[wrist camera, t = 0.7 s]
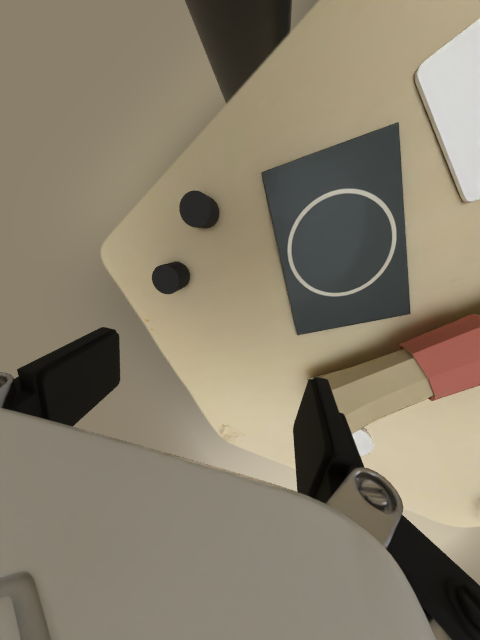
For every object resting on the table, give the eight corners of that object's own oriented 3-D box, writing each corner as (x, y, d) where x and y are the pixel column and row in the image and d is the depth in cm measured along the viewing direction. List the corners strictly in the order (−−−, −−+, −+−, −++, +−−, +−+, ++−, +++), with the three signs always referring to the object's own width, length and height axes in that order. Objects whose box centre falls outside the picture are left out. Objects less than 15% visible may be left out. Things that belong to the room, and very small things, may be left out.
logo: (371, 428, 38) (376, 462, 40) (369, 424, 38) (374, 458, 41) (330, 431, 39) (337, 464, 42) (329, 428, 40) (336, 460, 42)
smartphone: (499, 2, 21) (548, 160, 24) (492, 10, 21) (540, 162, 24) (413, 69, 23) (467, 205, 26) (409, 74, 24) (462, 206, 27)
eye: (161, 265, 35) (147, 269, 31) (184, 258, 34) (173, 261, 30) (170, 290, 36) (158, 297, 32) (193, 284, 35) (183, 290, 32)
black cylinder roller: (187, 201, 31) (174, 197, 28) (214, 191, 30) (205, 185, 27) (196, 231, 32) (185, 231, 29) (222, 223, 32) (215, 221, 28)
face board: (261, 174, 29) (261, 171, 28) (394, 126, 25) (399, 121, 24) (296, 332, 35) (297, 335, 34) (406, 311, 32) (411, 314, 31)
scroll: (298, 363, 35) (320, 429, 27) (591, 231, 24) (768, 277, 16) (323, 394, 40) (348, 457, 33) (568, 299, 30) (691, 358, 22)
